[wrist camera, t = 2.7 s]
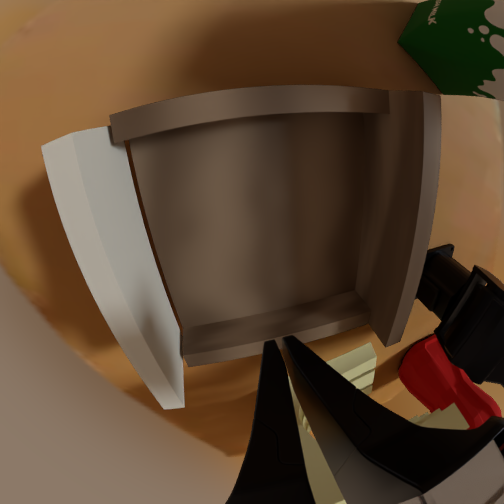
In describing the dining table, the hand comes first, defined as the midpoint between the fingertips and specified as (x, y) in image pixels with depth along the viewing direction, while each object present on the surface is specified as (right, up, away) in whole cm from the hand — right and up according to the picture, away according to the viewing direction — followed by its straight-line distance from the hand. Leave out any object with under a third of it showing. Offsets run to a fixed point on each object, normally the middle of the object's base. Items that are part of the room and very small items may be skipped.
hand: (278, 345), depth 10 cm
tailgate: (-8, +4, +8) cm, 12 cm away
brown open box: (0, +6, +11) cm, 12 cm away
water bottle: (+26, -14, +27) cm, 40 cm away
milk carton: (+16, +22, +5) cm, 28 cm away
